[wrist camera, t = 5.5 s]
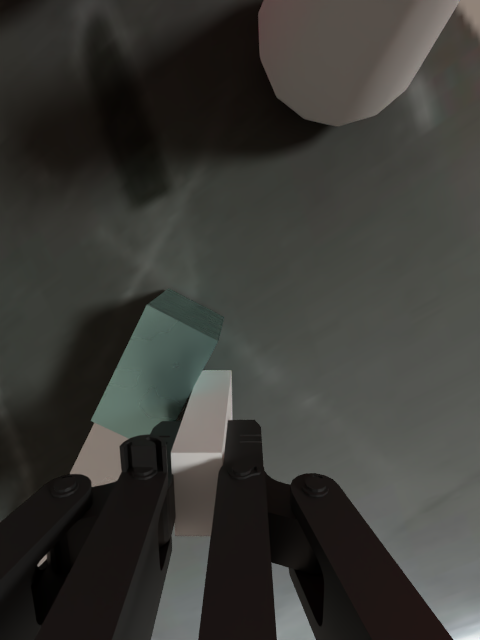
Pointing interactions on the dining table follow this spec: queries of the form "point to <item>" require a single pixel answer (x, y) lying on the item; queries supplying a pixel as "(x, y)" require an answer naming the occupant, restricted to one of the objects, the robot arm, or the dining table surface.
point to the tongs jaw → (149, 381)
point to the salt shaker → (346, 52)
